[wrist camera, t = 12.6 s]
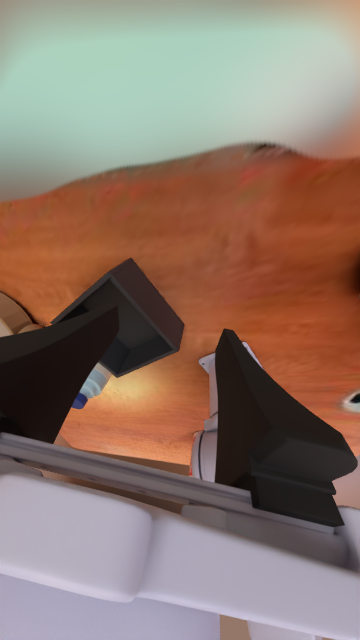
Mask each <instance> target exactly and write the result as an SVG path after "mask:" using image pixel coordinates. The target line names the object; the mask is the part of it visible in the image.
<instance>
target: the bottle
mask: <svg viewBox="0 0 360 640" xmlns="http://www.w3.org/2000/svg"><path fill="white" fill-rule="evenodd" d="M111 375H112V373H110V372H109V371H108V370H107V369H106V368H104V367H103V366H102V365H101V364H100V363H97V364H96V366H95V367H94V368H93V370H92V371H91V373H90V375H89V376H88V378H87V380H86V381H85V383H84V385H83V386H82V388H81V390H80V392H79V394H78V395H77V397H76V399H75V401H74V403H73V405H72V408H76V409H82V408H83V407H84V406H85V404H86V403H87V401H88V399H87V398H92V397H94V396H97V395H99V394H100V393H101V392H102V390H103V388H104V386H105V385H106V384H107V382H108V380H109V379H110V377H111Z"/></svg>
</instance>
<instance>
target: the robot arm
mask: <svg viewBox="0 0 360 640" xmlns="http://www.w3.org/2000/svg"><path fill="white" fill-rule="evenodd" d="M118 332H119V313H118V306H117V305H112V304H107V305H105V306H102V307H99V308H97V309H95V310H92V311H90V312H87V313H85V314H82V315H80V316H77V317H75V318H72V319H69V320H66V321H64V322H61V323H58V324H54V325H51V326H48V327H44V328H40V329H36V330H32V331H27V332H23V333H19V334H14V335H8V336H3V337H0V640H220V615H219V614H222V615H226V616H231V617H235V618H240V619H244V620H247V624H248V629H249V635H250V640H323V639H322V637H326V638H330V639H335V640H360V509H357V508H354V507H349V506H337V505H336V503H335V501H334V499H333V496H332V495H335V494H336V490H335V488H334V486H333V483H332V481H333V480H335V479H337V478H340V477H342V476H345V475H347V474H349V473H351V472H353V471H354V470H355V469H356V467H357V465H358V463H357V462H358V461H357V459H356V457H355V456H354V454H353V452H352V451H351V449H350V447H349V446H348V444H347V442H346V441H345V439H344V437H343V435H342V434H341V433H340V432H338V431H337V430H336V429H334V428H333V427H331V426H330V425H329V424H327V423H326V422H324V421H323V420H321V419H320V418H319V417H317V416H316V415H314V414H313V413H312V412H311V411H309V410H308V409H307V408H305V407H304V406H303V405H302V404H300V403H299V402H298V401H297V400H295V399H294V398H293V397H292V396H291V395H289V394H288V393H287V392H286V391H285V390H284V389H283V388H282V387H280V386H279V385H278V384H277V383H276V382H275V381H274V380H273V379H272V378H271V377H270V376H269V375H268V374H267V373H266V372H265V371H264V369H263V367H262V366H261V364H260V363H259V361H258V360H257V358H256V356H255V355H254V353H253V352H252V350H251V349H250V347H249V345H248V344H247V343H246V342H241V341H240V339H239V338H238V336H237V335H236V334H235V332H234V331H233V330H229V329H224V330H223V332H222V335H221V337H220V340H219V343H218V345H217V348H216V350H215V353H213V354H210V355H208V356H205V357H203V358H200V359H199V361H198V362H199V364H200V365H201V366H202V367H203V368H204V370H205V371H206V372H207V373H208V374H209V399H210V419H207V420H204V430H201V431H199V432H198V434H197V435H196V438H195V440H194V443H193V447H192V454H191V467H192V476H193V477H189V476H184V475H180V474H176V473H172V472H168V471H163V470H159V469H155V468H151V467H147V466H142V465H138V464H134V463H130V462H125V461H122V460H117V459H113V458H109V457H105V456H101V455H96V454H92V453H88V452H84V451H80V450H76V449H71V448H67V447H63V446H59V445H55V444H53V443H54V441H55V439H56V437H57V435H58V433H59V431H60V429H61V427H62V424H63V422H64V420H65V418H66V416H67V414H68V412H69V411H70V409H71V407H72V405H73V403H74V401H75V399H76V397H77V395H78V394H79V392H80V390H81V388H82V386H83V385H84V383H85V381H86V380H87V378H88V376H89V375H90V373H91V371H92V370H93V368H94V367H95V366H96V364H97V363H98V362H99V360H100V359H101V358H102V356H103V355H104V354H105V352H106V351H107V349H108V348H109V347H110V345H111V344H112V342H113V341H114V339H115V337H116V335H117V334H118ZM245 347H246V348H245ZM29 466H30V467H29ZM31 467H34V468H38V469H42V470H46V471H50V472H54V473H58V474H63V475H67V476H71V477H75V478H79V479H83V480H87V481H91V482H95V483H99V484H103V485H108V486H112V487H116V488H120V489H124V490H128V491H132V492H136V493H141V494H145V495H149V496H153V497H157V498H161V499H165V500H170V501H173V502H177V503H182V504H186V505H184V506H183V507H182V514H176V513H172V512H169V511H166V510H163V509H160V508H157V507H154V506H151V505H148V504H145V503H141V502H137V501H135V500H132V499H129V498H125V497H122V496H118V495H115V494H111V493H107V492H103V491H98V490H95V489H91V488H87V487H83V486H78V485H74V484H70V483H66V482H62V481H58V480H54V479H50V478H46V477H44V476H43V474H42V472H41V471H39V470H37V469H34V468H31ZM189 505H190V506H189Z"/></svg>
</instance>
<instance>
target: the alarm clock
mask: <svg viewBox="0 0 360 640" xmlns="http://www.w3.org/2000/svg"><path fill="white" fill-rule="evenodd" d="M40 328H43V327H42V326H40V325H38V324H33V323H32V321H31V319H30V318H29V317H28V315H27V314H26V313H25V311H24V310H23V309H22V308H21V307H20V306H19V305H18V304H16V303H15V302H14V301H13V300H12V299H10V298H9V297H7V296H6V295H4V294H3V293H1V292H0V337H3V336H8V335H14V334H19V333H23V332H27V331H32V330H36V329H40Z"/></svg>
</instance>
